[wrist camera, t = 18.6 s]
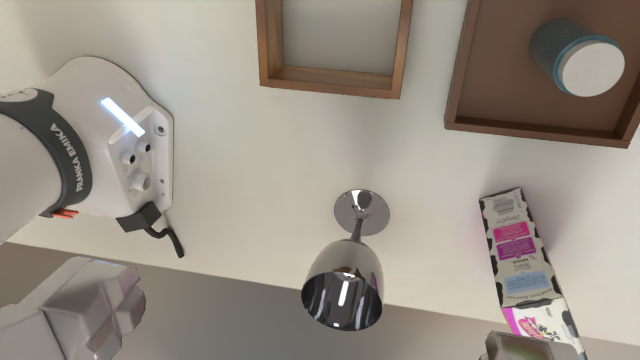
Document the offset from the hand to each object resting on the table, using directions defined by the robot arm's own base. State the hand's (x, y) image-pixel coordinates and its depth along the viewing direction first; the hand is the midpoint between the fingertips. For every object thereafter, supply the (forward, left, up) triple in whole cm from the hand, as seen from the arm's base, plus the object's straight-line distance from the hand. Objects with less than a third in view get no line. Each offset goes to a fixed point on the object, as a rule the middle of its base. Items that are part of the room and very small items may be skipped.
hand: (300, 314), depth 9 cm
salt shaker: (0, -15, -35) cm, 38 cm away
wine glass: (-22, +1, -35) cm, 42 cm away
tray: (0, -15, -35) cm, 38 cm away
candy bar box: (-21, -17, -35) cm, 44 cm away
